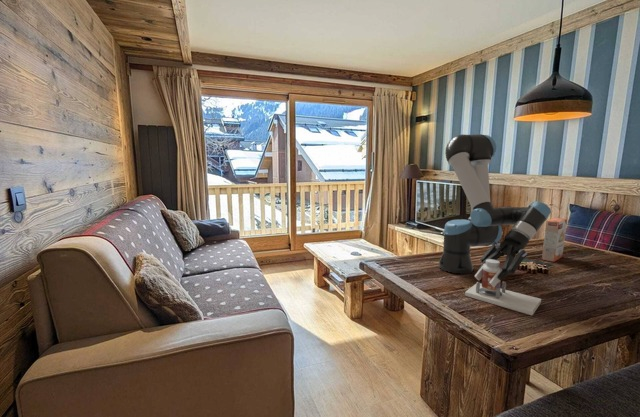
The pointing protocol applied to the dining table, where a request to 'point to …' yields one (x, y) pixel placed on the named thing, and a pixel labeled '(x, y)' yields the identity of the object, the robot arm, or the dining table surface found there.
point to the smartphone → (537, 262)
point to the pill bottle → (490, 274)
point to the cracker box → (554, 239)
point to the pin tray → (505, 298)
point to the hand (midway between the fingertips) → (484, 281)
